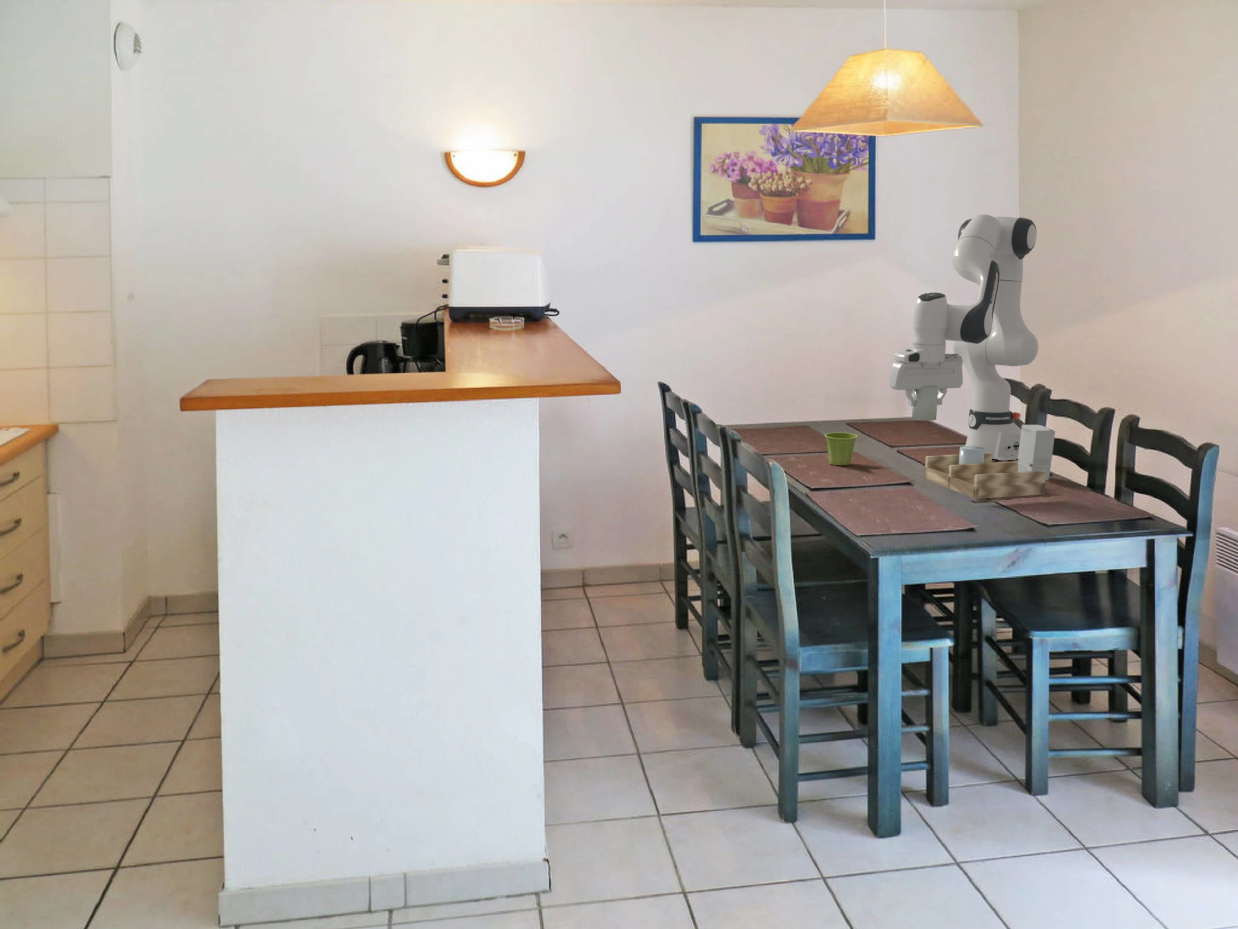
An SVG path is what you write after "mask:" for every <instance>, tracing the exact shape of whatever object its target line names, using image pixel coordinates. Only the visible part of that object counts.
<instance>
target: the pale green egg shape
mask: <svg viewBox="0 0 1238 929" xmlns="http://www.w3.org/2000/svg"><path fill="white" fill-rule="evenodd" d="M938 395H939V391H938V386H934V387H921V388H920V389H913V395H912V397H913V399H916V406H912V412H911V419H912V420H915V421H924V422H925V421H926V422H927V421H928V422H929V421H936V420H937V417H938V416H937V414H938V405H937V401H938Z"/></svg>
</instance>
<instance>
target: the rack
mask: <svg viewBox="0 0 1238 929" xmlns="http://www.w3.org/2000/svg"><path fill="white" fill-rule="evenodd" d="M992 456H993V453H984V463H979V464H961V465H959V454H944V455H928V456H927V455H925V464H924V465H925V466H924V479H925V480H929V481H931V482H933V483H936V484H938V485H941V486H943V487H945V488H948V489H950V490H952V491H955V492H957V493H960V494H963V495H965V496H967V497H969V498H972V499H974V500H970V502H971V503H973V504H983V503H984V504H985V503H988V504H989V503H997V502H996V501H1001V500H1012V499H1020V498H1029V497H1030V496H1036V497H1044V498H1045V490H1046V481H1045V480H1046V471H1029V472H1018V462H1017V461H1018V460H1013V461H997V462H993V460H992ZM1026 496H1027V497H1026ZM1008 497H1009V498H1008ZM977 499H978V500H977ZM979 499H980V500H979Z"/></svg>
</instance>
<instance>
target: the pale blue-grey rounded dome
mask: <svg viewBox="0 0 1238 929" xmlns="http://www.w3.org/2000/svg"><path fill="white" fill-rule="evenodd" d="M984 453H985V449H984V448H982V447H977V446H965V445H963V446H960V447H959V454H958V455H959V465H961V464H979V463H984Z"/></svg>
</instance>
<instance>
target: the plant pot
mask: <svg viewBox="0 0 1238 929" xmlns="http://www.w3.org/2000/svg"><path fill="white" fill-rule="evenodd" d="M824 437H825V440H826V443H827V444H826V445H827V451H828V452H827V453H828V464H829V465H833V466H835V465H845V466H849V464H850V465H851V464H852V463H851V462H852V456H853V450H854V446H855V443H856V440H857V439H858V435H857V434H854V433H850V432H829V433H826V434H824Z"/></svg>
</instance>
